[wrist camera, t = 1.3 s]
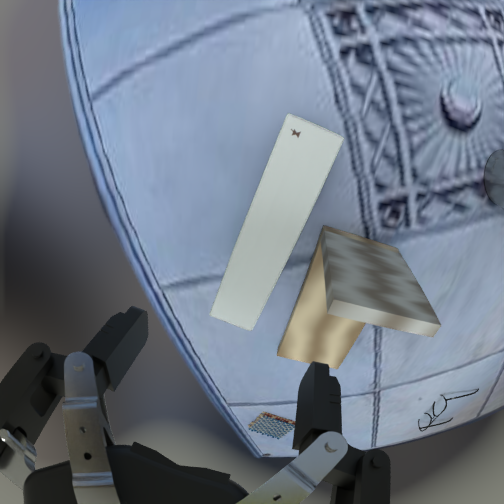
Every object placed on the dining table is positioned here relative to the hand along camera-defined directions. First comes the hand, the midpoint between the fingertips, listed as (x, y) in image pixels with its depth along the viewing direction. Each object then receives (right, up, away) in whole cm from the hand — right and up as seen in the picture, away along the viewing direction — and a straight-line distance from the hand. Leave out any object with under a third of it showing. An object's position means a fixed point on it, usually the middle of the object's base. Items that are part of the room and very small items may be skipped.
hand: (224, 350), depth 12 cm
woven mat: (+7, -40, +51) cm, 66 cm away
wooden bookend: (+14, -4, +32) cm, 35 cm away
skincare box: (+5, +12, +26) cm, 29 cm away
